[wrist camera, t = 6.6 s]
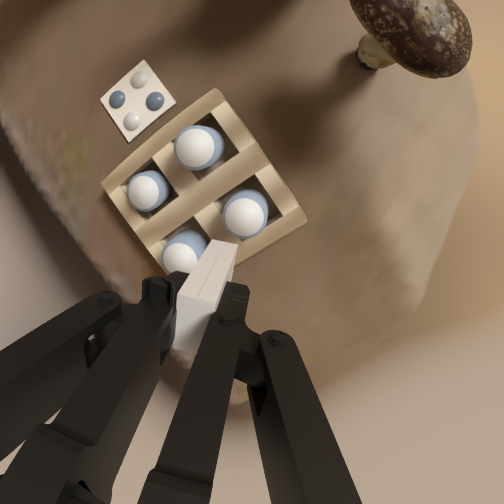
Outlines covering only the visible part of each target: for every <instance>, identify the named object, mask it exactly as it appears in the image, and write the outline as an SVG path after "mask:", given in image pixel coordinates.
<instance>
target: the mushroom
mask: <svg viewBox="0 0 504 504" xmlns="http://www.w3.org/2000/svg"><path fill="white" fill-rule="evenodd" d="M349 1H350V4H351V7H352V9H353V11H354V13H355V14H356V16H357V18H358V19H359V21H360V22H361V24H362V25H363V27H364V28H365V29H366V30H367V32H368V33H367V34H366V35H364V36H363V37H362V38H361V40H360V42H359V46H358V48H357V51H356V56H357V59H358V61H359V63H361V64H360V66H361V67H360V68H365V69H367V70H369V71H376V70H377V69H379V68H385V67H387V66H389V65H392V64H394V63H398V64H399V65H401V66H402V67H403V68H405V69H407V70H408V71H410V72H412V73H414V74H417V75H419V76H422V77H426V78H433V79H436V78H445V77H450V76H452V75H455V74H457V73H458V72H460V71H461V70H462V69H463V68H464V67H465V66H466V64H467V63H468V61H469V59H470V54H471V49H472V33H471V28H470V25H469V22H468V19H467V18H466V16H465V15H464V13H463V11H462V10H461V9H460V8H459V7H458V5H457V4H456V3H455V2H454V1H452V0H349Z"/></svg>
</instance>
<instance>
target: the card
mask: <svg viewBox="0 0 504 504" xmlns="http://www.w3.org/2000/svg"><path fill="white" fill-rule="evenodd" d="M100 100H101V102H102V103H103V105H104V106H105V108H106V109H107V111H108V112H109V114H110V115H111V117H112V118H113V120H114V121H115V123H116V124H117V126H118V127H119V128H120V130H121V131H122V133H123V134H124V136H125V137H126V139H127V140H128V142H131V141H132V140H133V139H134V138H135V137H137V136H138V135H139V134H140V133H141V132H142V131H143V130H145V129H146V128H147V127H148V126H149V125H150V124H152V123H153V122H154V121H155V120H156V119H158V118H159V117H160V116H161V115H162V114H164V113H165V112H166V111H167V110H169V109H170V108H171V107H172V106H174V105H175V104H176V101H175V100H174V99H173V97H172V96H171V95H170V93H169V92H168V91H167V89H166V88H165V87H164V85H163V84H162V83H161V81H160V80H159V78H158V77H157V76H156V74H155V73H154V72H153V70H152V69H151V68H150V66H149V65H148V64H147V62H146V61H145V60H143V61H141V62H140V63H139V64H138V65H137V66H136V67H134V68H133V69H132V70H131V71H130V72H129V73H128V74H126V75H125V76H124V77H123V78H122V79H121V80H120V81H119V82H118V83H117V84H115V85H114V86H113V87H112V88H111V89H110V90H109V91H108V92H107V93H106V94H105V95H104V96H103V97H102V98H101V99H100Z"/></svg>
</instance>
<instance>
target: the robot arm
mask: <svg viewBox="0 0 504 504" xmlns="http://www.w3.org/2000/svg"><path fill="white" fill-rule="evenodd" d="M237 247H238V245H237V244H233V243H228V242H223V241H218V240H214V239H212V240H211V242H210V243H209V245H208V246H207V248H206V249H205V251H204V253H203V254H202V256H201V257H200V259H199V260H198V262H197V263H196V265H195V267H194V268H193V270H192V271H191V273H190V274H189V273H185V272H181V271H177V270H176V271H174V272H172V273H170V274H169V275H168V276H167V277H166V278H164V277H158V276H156V277H148V278H146V279H144V280H143V281H142V299H141V301H140V302H139V303H138V304H127V303H122V299H121V297H120V295H118V294H117V293H115V292H112V291H99V292H97V293H94V294H92V295H91V296H89V297H88V298H86V299H84V300H83V301H81V302H79V303H77V304H75V305H74V306H72V307H71V308H69V309H67V310H65V311H64V312H62V313H60V314H59V315H57V316H56V317H54V318H52V319H51V320H49V321H47V322H46V323H44V324H42V325H41V326H39V327H37V328H36V329H34V330H33V331H31V332H30V333H28V334H26V335H25V336H23V337H21V338H20V339H18V340H17V341H15V342H14V343H12V344H10V345H9V346H7V347H6V348H4V349H3V350H1V351H0V461H2V460H3V459H4V458H5V457H7V456H8V455H9V454H10V453H11V452H12V451H13V450H15V449H16V448H17V447H18V446H19V445H20V444H21V443H22V442H24V440H26V441H25V442H24V444H23V445H22V447H21V448H20V450H19V451H18V453H17V454H16V456H15V458H14V459H13V461H12V462H11V464H10V465H9V467H8V469H7V470H6V472H5V474H2V475H0V504H110V502H111V498H112V486H113V483H114V481H115V478H116V475H117V473H118V471H119V469H120V466H121V464H122V462H123V459H124V457H125V455H126V452H127V450H128V448H129V445H130V443H131V441H132V438H133V436H134V434H135V432H136V429H137V427H138V425H139V422H140V420H141V418H142V416H143V414H144V411H145V409H146V407H147V405H148V402H149V400H150V398H151V396H152V394H153V391H154V389H155V387H156V385H157V383H158V380H159V378H160V376H161V374H162V372H163V369H164V367H165V365H166V363H167V361H168V359H169V357H170V347H171V344H172V342H173V340H174V344H173V349H177V350H180V351H184V352H188V353H192V354H196V356H195V359H194V362H193V364H192V367H191V370H190V372H189V375H188V378H187V381H186V383H185V386H184V389H183V392H182V394H181V397H180V400H179V403H178V405H177V408H176V411H175V413H174V416H173V419H172V422H171V425H170V427H169V430H168V433H167V436H166V438H165V441H164V444H163V447H162V450H161V453H160V455H159V458H158V461H157V464H156V466H155V468H154V469H152V470H151V471H150V472H149V474H148V476H147V478H146V481H145V483H144V486H143V489H142V492H141V495H140V498H139V500H138V503H137V504H209V502H210V497H211V492H212V487H213V479H214V474H215V469H216V464H217V459H218V455H219V449H220V445H221V439H222V434H223V429H224V424H225V420H226V414H227V409H228V404H229V399H230V394H231V389H232V384H233V379H234V378H235V379H238V380H240V381H242V382H244V383H246V384H247V391H248V396H249V401H250V406H251V411H252V416H253V421H254V426H255V431H256V435H257V440H258V445H259V449H260V454H261V459H262V464H263V468H264V473H265V477H266V482H267V486H268V490H269V495H270V499H271V504H362V502H361V500H360V497H359V495H358V492H357V490H356V487H355V485H354V483H353V480H352V478H351V475H350V473H349V470H348V468H347V466H346V464H345V461H344V458H343V456H342V454H341V451H340V449H339V446H338V444H337V441H336V439H335V437H334V434H333V432H332V429H331V427H330V425H329V422H328V420H327V417H326V415H325V413H324V410H323V408H322V405H321V403H320V401H319V398H318V396H317V394H316V391H315V389H314V386H313V384H312V381H311V379H310V377H309V374H308V372H307V369H306V367H305V365H304V362H303V360H302V358H301V355H300V353H299V350H298V348H297V346H296V343H295V341H294V340H293V338H292V337H291V336H290V335H288V334H287V333H284V332H282V331H278V330H267V331H265V332H263V333H262V334H261V335H260V334H257V333H255V332H253V331H252V330H250V329H249V328H248V327H247V325H246V323H245V316H246V310H247V305H248V300H249V295H250V290H249V288H248V287H247V285H243V284H238V283H233V282H231V279H232V274H233V269H234V263H235V258H236V253H237ZM91 335H94V338H93V339H92V340H88V338H89V337H90V336H91ZM61 408H62V409H61ZM60 409H61V410H60ZM59 410H60V412H59V413H58V415H57V416H56V418H55V419H54V421H53V422H52V423H50V424H44V423H45V422H46V421H47V420H48V419H50V418H51V417H52V416H53V415H54V414H55V413H56V412H58V411H59Z"/></svg>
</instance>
